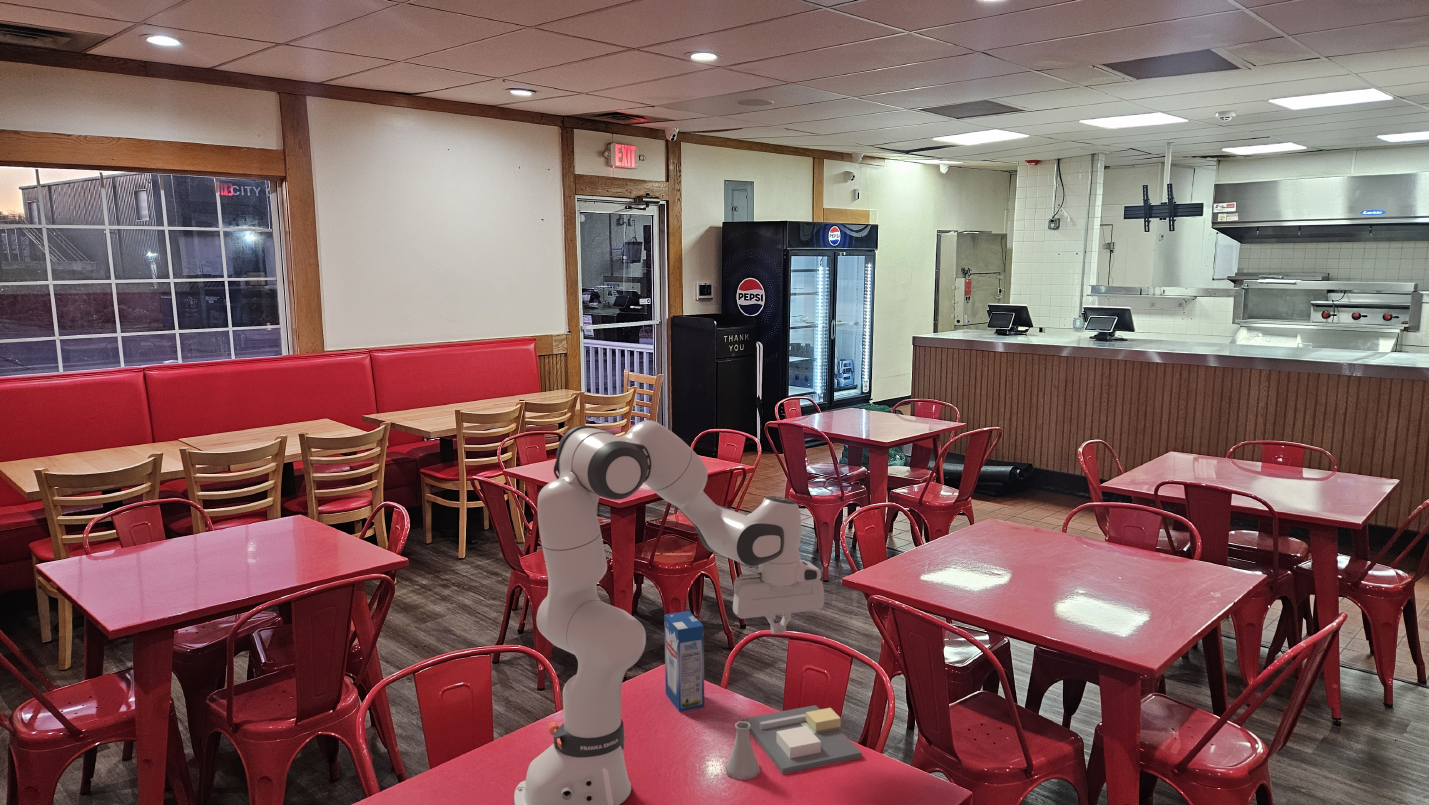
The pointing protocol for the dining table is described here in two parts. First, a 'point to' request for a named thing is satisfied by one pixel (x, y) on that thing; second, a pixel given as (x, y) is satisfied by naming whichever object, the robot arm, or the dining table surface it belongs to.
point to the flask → (742, 755)
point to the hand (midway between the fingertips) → (778, 632)
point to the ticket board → (804, 762)
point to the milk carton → (684, 660)
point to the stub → (823, 719)
